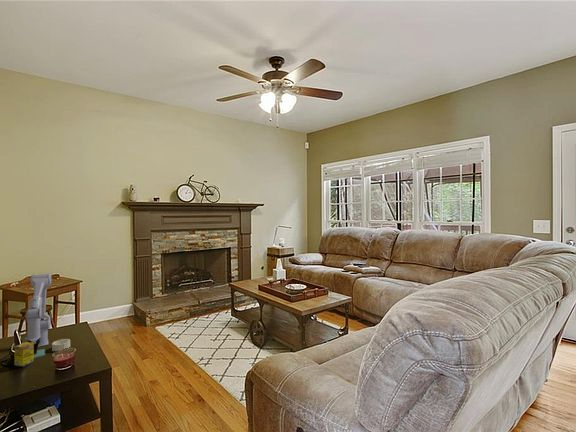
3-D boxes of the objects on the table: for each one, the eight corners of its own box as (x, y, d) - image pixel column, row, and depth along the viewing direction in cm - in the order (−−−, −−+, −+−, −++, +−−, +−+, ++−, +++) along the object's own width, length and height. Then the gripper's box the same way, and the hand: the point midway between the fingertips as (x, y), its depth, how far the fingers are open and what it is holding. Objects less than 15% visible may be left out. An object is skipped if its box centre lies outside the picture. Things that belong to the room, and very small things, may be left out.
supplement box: (23, 367, 170) (23, 347, 170) (14, 366, 171) (14, 346, 171) (34, 362, 176) (34, 342, 176) (25, 361, 177) (25, 341, 177)
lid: (23, 354, 186) (23, 346, 186) (44, 350, 192) (44, 342, 192) (22, 360, 178) (22, 352, 178) (44, 356, 184) (44, 347, 184)
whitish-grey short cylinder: (51, 347, 195) (51, 341, 195) (69, 344, 201) (69, 337, 201) (52, 352, 188) (52, 346, 188) (70, 349, 194) (70, 342, 194)
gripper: (25, 326, 188) (25, 349, 188) (24, 334, 177) (24, 358, 177) (40, 324, 192) (40, 346, 193) (40, 331, 181) (40, 355, 181)
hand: (33, 352), depth 185 cm, fingers closed on lid, 3 cm apart
